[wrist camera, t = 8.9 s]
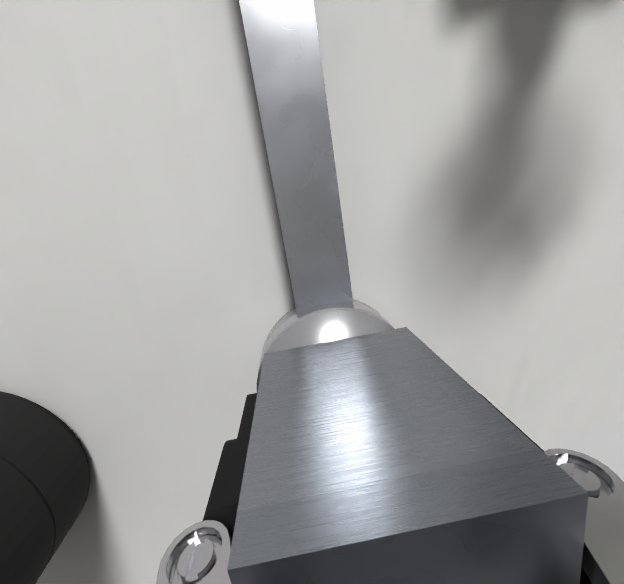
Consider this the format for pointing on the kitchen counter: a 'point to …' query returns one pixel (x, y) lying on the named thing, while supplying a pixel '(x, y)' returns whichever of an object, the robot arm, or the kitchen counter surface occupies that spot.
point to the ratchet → (303, 176)
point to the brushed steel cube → (395, 477)
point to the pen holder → (36, 487)
